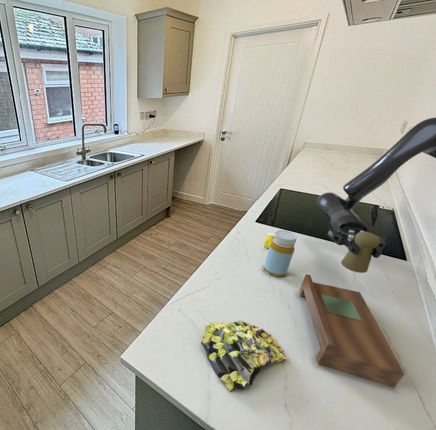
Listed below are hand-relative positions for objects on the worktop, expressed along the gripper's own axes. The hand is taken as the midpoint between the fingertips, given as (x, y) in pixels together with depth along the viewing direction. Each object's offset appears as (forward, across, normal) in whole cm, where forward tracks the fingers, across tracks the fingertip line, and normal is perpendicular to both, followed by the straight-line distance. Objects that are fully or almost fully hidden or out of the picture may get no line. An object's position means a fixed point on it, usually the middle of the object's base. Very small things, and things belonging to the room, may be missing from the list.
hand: (366, 253), depth 72 cm
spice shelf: (+14, -5, +18) cm, 23 cm away
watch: (-24, -19, +18) cm, 35 cm away
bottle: (-8, -18, +18) cm, 26 cm away
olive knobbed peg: (-3, 0, +7) cm, 7 cm away
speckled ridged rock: (+31, -28, +18) cm, 45 cm away
